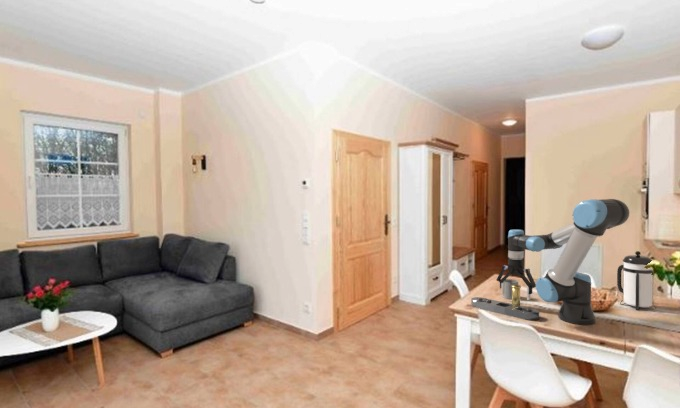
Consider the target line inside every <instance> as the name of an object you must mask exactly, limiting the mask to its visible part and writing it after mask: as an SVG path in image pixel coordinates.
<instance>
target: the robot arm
mask: <svg viewBox="0 0 680 408" xmlns="http://www.w3.org/2000/svg"><path fill="white" fill-rule="evenodd" d="M572 216H573V217H572V220H573V222H572V223H570V224H568V225H566V226H564V227H561V228H558V229H557V230H555V231H553V232H551V233H547V234H541V235H539V234H538V235H527V234H525V231H524V230H523V229H510V230H509V231H508V235H507V239H508V240H507V243H508V245H507V248H508V249H507V250H508V251H507V252H508V253H507V258H508V259H507V262H508V263H507V264H508V265H506V264H504V265H502V266H501V270H500V271H499V274H498V276H497V278H496V279H495V281H497V282H498V283H499V288H500V289H501V290H500V293H501V296H503V295H504V294H505V282H504V281H505V280H506V279H509V277H510V276H511V275H512V276H517V277H519V278H521V279H522V281H523V282H524V283H525V285H526V286H527V288H526V301H531V297H532V296H531V295H532V294H533V288H535V290H536V293H537V295H538V296H539V298H541V300H543V301H544V302H546V303H559V302H561V305H560V308H559V310H558V319H559V320H561V321H563V322H566V323H570V324H573V325H583V326H587V325H588V326H589V325H594V324H596V316H595V314H594V309H593V308H592V282H591V281H592V280H591V279H592V278H591V276H590V275H589V274H587V273H584V272H578V270H579V269H580V267H581V265H582V263H583V262H584V261H585V258H586V256H587V255H588V253H589V251H590V250H591V249H592V246H593V245H594V243H595V242H596V239H597V238H598V237H599V238H600V237H603V235H604V234H605V233H606V231H607V230H610V229H612V228H615V227H619V226H621V225H623V224H625V223H626V222H627V221H628V220H629V217H630V209H629V206H627V204H625V202H624V201H622V200H619V199H615V198H607V199H606V198H605V199H596V198H593V199H586V200H582V201H580V202H579V203H578V204H576V205H575V206H574V208H573V210H572ZM564 245H565V246H564ZM563 246H564V247H563ZM562 247H563V249H562V252H561V254H560V255H559V257H558V260H557V261H556V262H555V265H554V267H553V268H550V269H548V270H547V271H546V273H545V276H544V277H539V278H538V279H537V280H536V282H535V280H534V277H533V276H532V274H531V270H530V268H524V264H525V263H524V262H525V261H524V258H525V257H524V256H525V255H524V252H525V251H524V250H526V251H530V252H539V253H540V252H541V251H543V250H556V249H559V248H560V249H561V248H562ZM506 270H508V272H507V273H506V274H505V272H506ZM504 274H505V275H504ZM525 274H526V275H525Z"/></svg>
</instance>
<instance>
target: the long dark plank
mask: <svg viewBox="0 0 680 408" xmlns="http://www.w3.org/2000/svg"><path fill="white" fill-rule="evenodd" d="M470 299H471V302H470V303H471V304H470V305H472V306H473V307H472V306H471V307H472V308H475V307H476V308H475V309H479V308H480V309H481V310H484V311H487V312H488V311H489V312H493V313H496V314H501V315H504V316H509V317H513V318H517V319H521V320H525V321H531V322H532V321H535V322H536V321H539V320H540V310H538V309H535V308H532V307H527V306H523V305H520V306H519V305H514V304H512V303H509V302H504V301H501V300H497V299H496V300H495V299H491V298H486V297H480V296H479V297H477V296H476V297H472V298H470Z"/></svg>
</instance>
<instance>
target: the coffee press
mask: <svg viewBox="0 0 680 408" xmlns="http://www.w3.org/2000/svg"><path fill="white" fill-rule="evenodd" d="M651 261H653V259H652V258H650V257H648V256H646V255H641V252H640V251H638V250H637V251H635V252H634V254H631V255H630V254H628V255H626V256H624V258H623V259H622V263H623V264H620V265H619V266H618V268H617V271H616V272H617V273H616V275H617V276H616V277H617V278H616V286H617V289H618V290H619V292H620V293H622V300H620V302H619V305H621V306H623V305H625V304H626V305H629V306H630V307H631V306H632V307H635V311H638V310H640V308H651V309H652V310H653V309H657V307H656V305H655V304H654V303H653V300H654V274H653V275H651V274H652V269H651V268H648V269H646V268H644V267H645V266H646V265H647V264H648V263H650V262H651ZM622 273H623V281H622ZM622 302H624V303H622ZM652 306H653V307H652Z"/></svg>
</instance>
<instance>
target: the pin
mask: <svg viewBox="0 0 680 408" xmlns="http://www.w3.org/2000/svg"><path fill="white" fill-rule="evenodd" d="M511 287H512V300H511V304H514V305H519V306H521V287H522V286H521V285H520V284H518V285H511Z"/></svg>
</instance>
